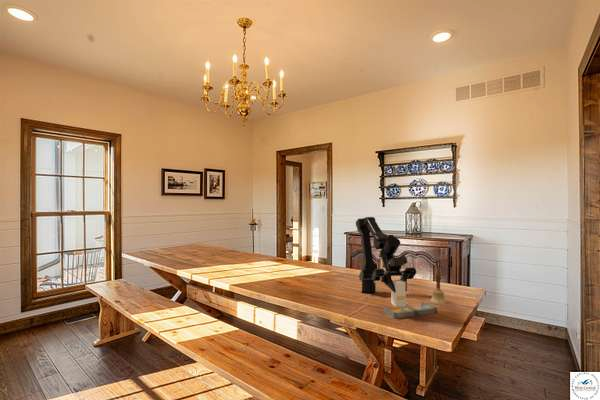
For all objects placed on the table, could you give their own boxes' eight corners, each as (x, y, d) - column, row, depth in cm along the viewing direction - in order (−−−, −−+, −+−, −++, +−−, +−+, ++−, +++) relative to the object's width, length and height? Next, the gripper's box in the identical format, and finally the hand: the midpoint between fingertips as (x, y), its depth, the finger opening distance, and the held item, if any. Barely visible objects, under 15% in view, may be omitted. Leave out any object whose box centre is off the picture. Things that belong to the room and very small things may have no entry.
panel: (395, 321, 127) (395, 314, 127) (380, 312, 137) (380, 305, 137) (438, 315, 133) (438, 308, 133) (421, 306, 144) (421, 300, 144)
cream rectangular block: (391, 303, 135) (391, 280, 135) (401, 302, 136) (401, 279, 136) (395, 306, 131) (395, 282, 131) (405, 306, 132) (405, 282, 132)
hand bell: (425, 300, 153) (425, 267, 153) (442, 299, 154) (441, 266, 154) (434, 306, 145) (434, 271, 145) (451, 305, 145) (451, 270, 145)
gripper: (374, 250, 135) (385, 282, 124) (414, 248, 138) (428, 280, 127) (367, 264, 143) (377, 296, 132) (405, 263, 146) (418, 294, 135)
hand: (400, 291), depth 132 cm, fingers closed on cream rectangular block, 4 cm apart
